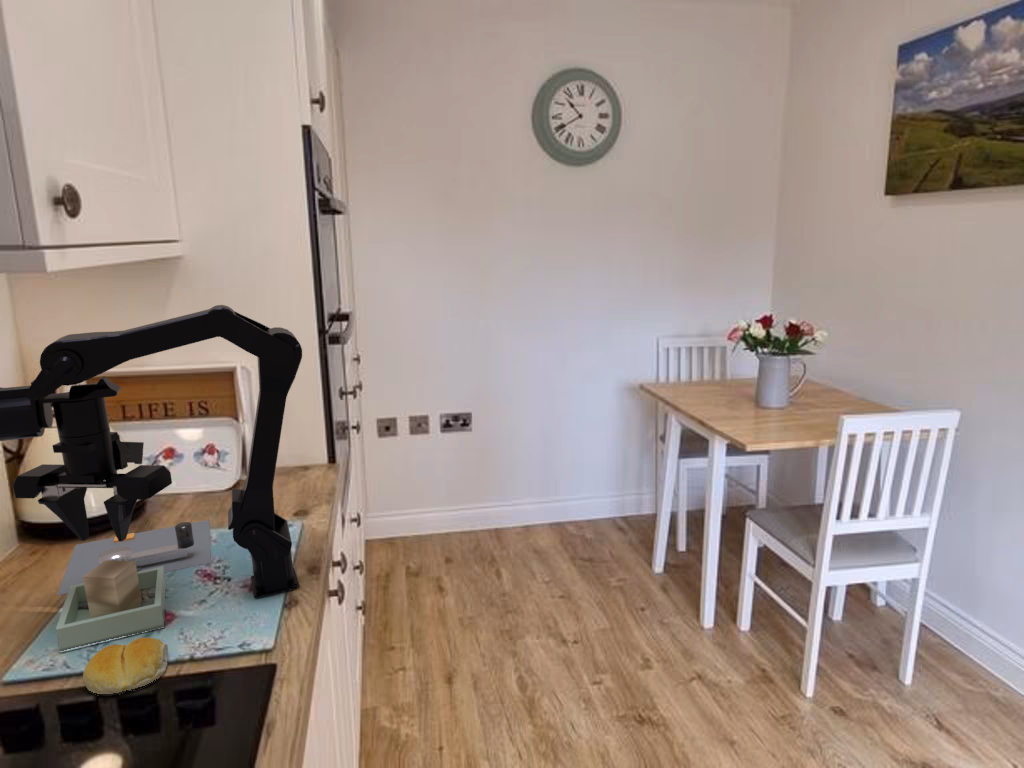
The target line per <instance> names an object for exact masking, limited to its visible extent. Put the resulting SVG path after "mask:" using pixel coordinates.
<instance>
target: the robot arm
mask: <svg viewBox="0 0 1024 768" xmlns="http://www.w3.org/2000/svg"><path fill="white" fill-rule="evenodd" d="M219 337H220V338H222V339H224V340H226V341H228V342H229V343H231V344H233V345H235V346H237V348H240V349H242V350H243V351H245V352H247V353H249V354H250V355H253V356H255V357H257V369H258V370H257V371H258V374H257V375H258V386H259V387H258V390H259V391H258V397H257V405H256V409H255V410H256V411H255V417H254V418H255V419H254V424H253V431H252V439H251V444H250V450H249V458H248V463H247V472H246V478H245V480H244V483H243V485H242V487H241V489H240V488H233V487H232V488H231V505H230V508H229V509H228V510H227V530H229V531H230V530H232V538H233V541H234V542H235V543H236V544H237V545H238V546H239V547H241V548H243V549H244V550H248V552H249V554H250V557H251V565H252V573H253V575H251V576H250V584H251V588H252V594H253V598H254V599H259V598H262V597H267V596H271V595H272V596H273V595H276V594H279V593H284V592H288V591H292V590H296V589H299V588H300V581H299V579H298V576H297V573H296V569H295V567H294V565H293V554H292V546H293V543H292V538H291V533H290V527H289V524H288V520H287V519H285V518H284V517H283V516H281V515H279V514H277V513H276V512H275V503H274V502H275V501H274V480H275V473H276V468H277V462H278V461H277V460H278V455H279V449H280V442H281V435H282V429H283V428H282V427H283V423H284V416H285V411H286V410H285V409H286V403H287V397H288V394H289V392H290V389H291V388H292V386H293V383H294V382H295V379H296V375H297V373H298V370H299V369H300V365H301V362H302V358H303V348H302V346H301V343H300V342H299V340H298V338H297V337H296V336H295V335H294V334H293V332H292V331H290V330H289V329H286V328H284V327H281V326H280V327H278V326H277V327H272V328H270V327H269V326H267V325H264V324H263V323H260V322H258V321H257V320H254V319H252V318H250V317H248V316H246V315H243V314H241V313H239V312H237V311H235V310H234V309H233V308H231V307H230V306H227V305H225V304H217V305H213V306H212V307H211V308H208V309H204V310H201V311H197V312H192V313H188V314H184V315H181V316H176V317H172V318H169V319H164V320H160V321H156V322H153V323H149V324H145V325H140V326H136V327H133V328H128V329H125V330H119V331H117V330H115V331H95V332H93V331H92V332H82V333H71V334H66V335H64V336H61V337H59V338H57V340H55V341H52V343H50V344H49V345H47V346H45V347H44V349H43V351H42V352H41V354H40V357H39V365H40V371H39V373H38V375H37V376H36V377H35V379H33V380H32V381H31V382H30V385H21V386H10V387H9V386H8V387H0V442H5V441H15V440H23V439H31V438H40V437H43V436H44V433H45V430H46V429H50V428H52V427H53V423H54V422H53V421H54V419H55V425H56V429H57V435H58V439H59V442H57V443H55V444H53V445H52V446H51V447H52V450H53V453H54V454H57V453H60V454H61V455H62V461H63V464H40V465H38V466H36V467H33V468H31V469H30V470H27V471H24V472H22V473H20V474H19V475H17V476H16V477H15V479H14V481H13V483H12V488H13V495H14V498H15V499H35V498H37V497H39V495H40V494H41V498H38V499H37V502H38V504H40V505H44V506H45V507H46V508H47V509H49V510H50V511H51V512H52V513H53V514H54V515H56V516H57V517H58V518H59V520H61V521H62V522H63V523H64V524H65V525H66V526H67V528H68V529H70V530H71V532H73V534H74V535H75V536H76V537H77V538H78V539H79V540H80V541H81V542H83V541H84V542H85V541H86V540H88V539H89V538H90V529H89V521H88V515H87V508H86V503H85V496H86V493H87V491H88V489H113V495H112V496H111V497H109V498H107V499H106V500H104V501H103V505H104V508H105V510H106V513H107V516H108V519H109V521H110V525H111V527H112V529H113V532H114V534H115V536H116V537H117V539H118V541H123V540H125V539H126V537H127V534H129V528H130V525H131V521H132V517H133V513H134V509H135V507H136V504H137V502H138V500H139V501H141V500H147V499H150V498H152V497H154V496H155V495H157V494H158V493H160V492H161V491H162V490H164V489H166V488H168V487H169V486H170V485H172V484H173V481H172V473H171V471H170V469H169V468H168V467H167V466H166V465H160V464H159V465H158V464H157V465H156V464H154V465H152V464H151V465H149V464H147V465H146V464H144V465H143V457H144V456H143V455H144V444H145V443H144V441H143V442H142V441H121V438H120V435H119V433H118V431H111V427H110V422H109V421H110V420H109V416H108V415H109V414H108V409H107V403H106V398H112V397H113V398H114V397H116V396H117V395H118V394H119V393H120V391H121V389H122V388H121V386H120V385H118V384H116V383H115V382H113V381H111V380H110V379H108V377H107V376H106V375H104V376H101V378H100V379H99V380H98V382H95V383H84V384H83V382H86V381H88V380H90V379H92V378H95V377H96V376H98V375H103V373H105V372H109V370H112V369H113V368H116V367H118V366H120V365H122V364H124V363H126V362H128V361H131V360H135V359H139V358H142V357H146V356H151V355H154V354H157V353H158V354H159V353H162V352H165V351H169V350H172V349H173V350H174V349H176V348H181V347H184V346H187V345H192V344H195V343H199V342H200V343H201V342H203V341H206V340H211V339H213V338H219ZM81 383H82V384H81ZM62 386H65V387H66V386H70V388H69V391H67V392H60V393H59V392H58V393H57V392H56V393H54V392H55V391H57V390H58V389H59V388H61V387H62ZM52 408H53V409H52ZM53 412H54V415H53ZM129 463H130V464H131V463H132V464H135V465H139V466H137V467H135V468H133V469H132V470H130V471H128V472H126V473H118V471H119V470H124V469H126V468H129V466H128V465H129Z"/></svg>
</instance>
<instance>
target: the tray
mask: <svg viewBox="0 0 1024 768" xmlns="http://www.w3.org/2000/svg"><path fill="white" fill-rule="evenodd" d="M137 575H138V580H139V586H140V590H143V589H148V588H153V587H155V591H154V592H155V593H154V603H152V604H148V605H144V606H138V607H137V608H135V609H130V610H126V611H122V612H117V613H113V614H109V615H104V616H100V617H96V618H90V613H89V607H88V606H87V607H85V606H84V607H83V606H82V607H81V606H79V605H80V603H85V602H87V597H86V592H85V587H84V583H81V584H76V585H71V586H70V589H69V592H68V594H66V596H65V601H64V603H63V607H62V610H61V613H60V615H59V618H58V620H57V621H58V622H57V625H56V627H55V633H56V638H57V644H58V648H59V652H60V651H64V650H67V649H71V648H75V647H79V646H84V645H88V644H92V643H96V642H101V641H106V640H109V639H114V638H119V637H122V636H128V635H132V634H137V633H142V632H145V631H150V630H153V629H158V628H161V627H164V628H165V626H164V622H165V621H166V610H165V609H166V608H165V603H166V602H165V601H166V587H167V586H166V585H167V578H166V573H165V571H164V566H162V567H157V568H153V569H148V570H143V571H138V572H137ZM165 623H166V622H165Z"/></svg>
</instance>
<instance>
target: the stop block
mask: <svg viewBox="0 0 1024 768" xmlns="http://www.w3.org/2000/svg"><path fill="white" fill-rule="evenodd" d="M83 581H84V587H85V592H86V597H87V601H86V602H87V607H89V613H90V618H96V617H100V616H104V615H109V614H113V613H117V612H122V611H126V610H130V609H135V608H139V607H141V605H142V604H143V599H142V594H141V593H142V592H141V589H140V586H139V580H138V575H137V569H136V563H135V561H106V560H105V561H104V562H102V563H101V564H100V565H98V566H97V567H96V568H94V569H93V570H91V571H90V572H89V573H87V574H86V575H85V576H83Z"/></svg>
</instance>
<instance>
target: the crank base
mask: <svg viewBox="0 0 1024 768" xmlns="http://www.w3.org/2000/svg"><path fill="white" fill-rule="evenodd" d="M190 523H191V525H192V532H193V539H194V545H193V546H191V547H188V548H187V556H185V557H180V558H175V559H171V560H166V561H161V562H156V563H151V564H146V565H141V566H137V567H136V569H137V572H138V571H143V570H148V569H153V568H157V567H162V566H164V571H165V574H166V573H170V572H175V571H181V570H183V569H184V570H185V569H189V568H192V567H199V566H204V565H207V564H212V563H213V559H212V546H211V534H210V533H211V531H210V519H207V520H205V519H204V520H201V521H195V522H190ZM175 526H176V525H174V526H169V527H163V528H159V529H153V530H152V529H151V530H147V531H141V532H136V533H135V532H132V533H131V532H130V533H128V534H127V537H126V539H125V540H123V541H118V539H117V537H116V535H115V536H114V537H111V538H105V539H104V538H103V539H99V540H95V541H90V542H89V541H88V542H84V543H83V542H82V543H77V544H75V546H74V548H73V551H72V553H71V556H70V558H69V561H68V565H67V567H66V570H65V573H64V575H63V578H62V580H61V583H60V586H59V588H58V591H57V594H56V596H57V597H58V596H62V595H68V592H69V589H70V586H71V585H76V584H81V583H84V581H83V576H85V575H86V574H87V573H89V572H90V571H91V570H93V569H94V568H96V567H97V566H98V565H100V564H99V559H98V556H99V555H100V554H101V553H102V552H104V551H106V550H109V549H112V548H116V547H129V548H130V549H131V553H136V552H141V551H146V550H151V549H156V548H161V547H166V546H171V545H176V544H177V537H176V531H175Z"/></svg>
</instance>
